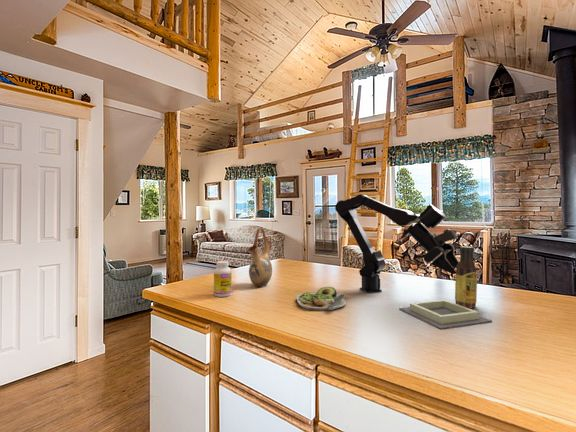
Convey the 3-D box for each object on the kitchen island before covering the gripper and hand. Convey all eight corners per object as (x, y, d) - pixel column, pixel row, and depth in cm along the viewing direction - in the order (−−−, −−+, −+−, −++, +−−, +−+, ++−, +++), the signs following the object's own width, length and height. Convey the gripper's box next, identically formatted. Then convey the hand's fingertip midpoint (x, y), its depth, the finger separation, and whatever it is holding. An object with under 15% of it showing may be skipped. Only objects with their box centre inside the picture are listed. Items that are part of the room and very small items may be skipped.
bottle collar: (441, 324, 89) (441, 316, 89) (409, 309, 102) (409, 303, 102) (478, 318, 93) (478, 312, 93) (444, 305, 106) (444, 299, 106)
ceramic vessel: (261, 280, 147) (261, 226, 146) (279, 282, 143) (278, 226, 142) (241, 288, 132) (240, 228, 131) (259, 291, 128) (259, 229, 127)
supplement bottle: (219, 298, 118) (218, 263, 118) (210, 295, 123) (210, 261, 123) (235, 295, 123) (234, 261, 122) (226, 291, 128) (225, 259, 127)
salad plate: (355, 314, 101) (355, 299, 101) (298, 315, 100) (298, 300, 100) (342, 297, 120) (342, 284, 120) (295, 297, 119) (295, 285, 119)
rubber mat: (440, 329, 86) (440, 327, 86) (399, 309, 104) (399, 308, 104) (492, 321, 92) (492, 320, 92) (444, 304, 109) (444, 302, 109)
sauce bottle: (468, 310, 102) (469, 248, 102) (450, 305, 108) (451, 246, 107) (481, 307, 105) (481, 247, 105) (463, 302, 111) (463, 245, 110)
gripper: (433, 222, 103) (472, 259, 97) (447, 220, 118) (482, 252, 111) (409, 245, 109) (444, 282, 102) (425, 240, 123) (457, 272, 116)
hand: (458, 271), depth 108 cm, fingers open, 9 cm apart
